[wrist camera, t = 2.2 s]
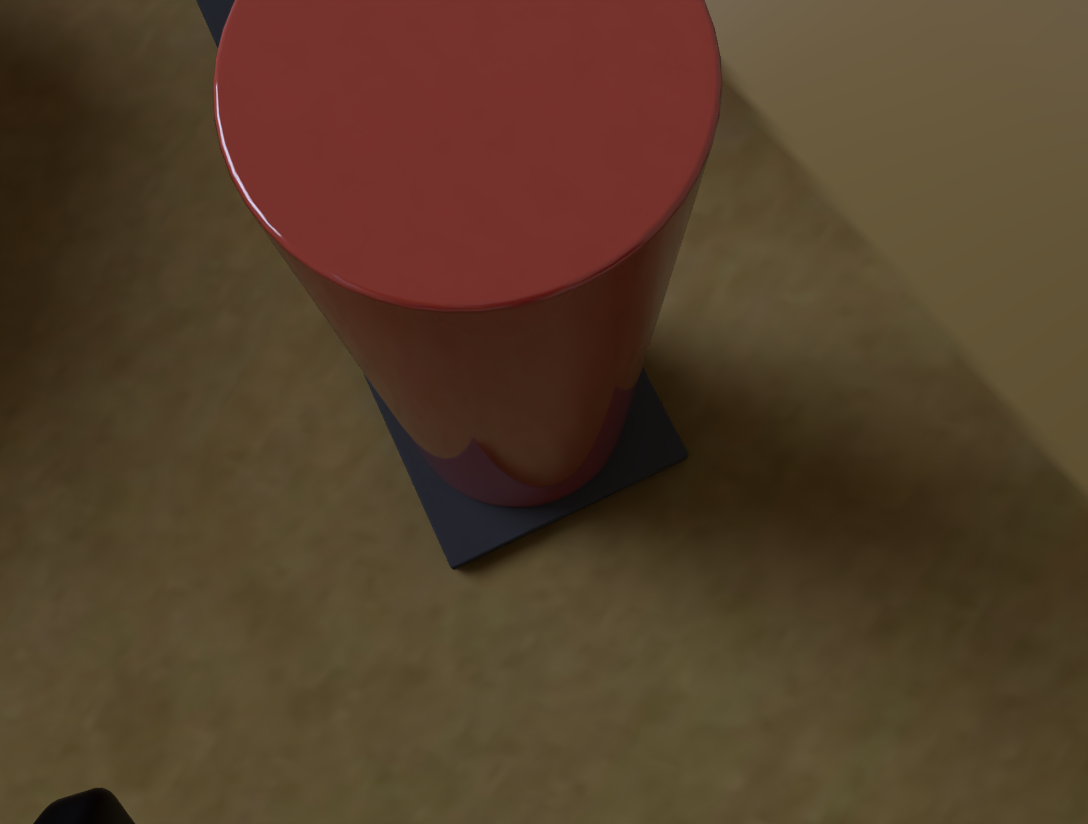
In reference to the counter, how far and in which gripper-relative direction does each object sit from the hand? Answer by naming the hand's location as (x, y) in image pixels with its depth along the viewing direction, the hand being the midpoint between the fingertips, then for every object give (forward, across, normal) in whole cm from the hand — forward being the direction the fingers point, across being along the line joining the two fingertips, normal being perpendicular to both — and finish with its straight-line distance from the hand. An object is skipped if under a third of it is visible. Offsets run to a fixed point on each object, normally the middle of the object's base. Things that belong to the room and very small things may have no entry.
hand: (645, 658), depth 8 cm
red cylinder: (+12, 0, +4) cm, 13 cm away
